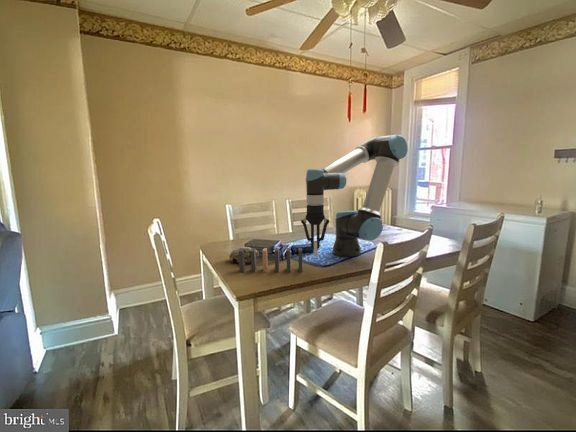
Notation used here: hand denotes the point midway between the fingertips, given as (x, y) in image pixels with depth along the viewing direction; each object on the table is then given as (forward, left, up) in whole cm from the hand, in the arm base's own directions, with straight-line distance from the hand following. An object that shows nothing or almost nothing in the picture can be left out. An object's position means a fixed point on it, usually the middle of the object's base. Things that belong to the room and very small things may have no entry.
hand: (315, 255), depth 140 cm
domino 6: (+7, 0, -7) cm, 10 cm away
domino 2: (+28, 0, -7) cm, 29 cm away
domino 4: (+18, 0, -7) cm, 19 cm away
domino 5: (+12, 0, -7) cm, 14 cm away
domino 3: (+23, 0, -7) cm, 24 cm away
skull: (+35, -13, -7) cm, 38 cm away
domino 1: (+34, 0, -7) cm, 35 cm away
